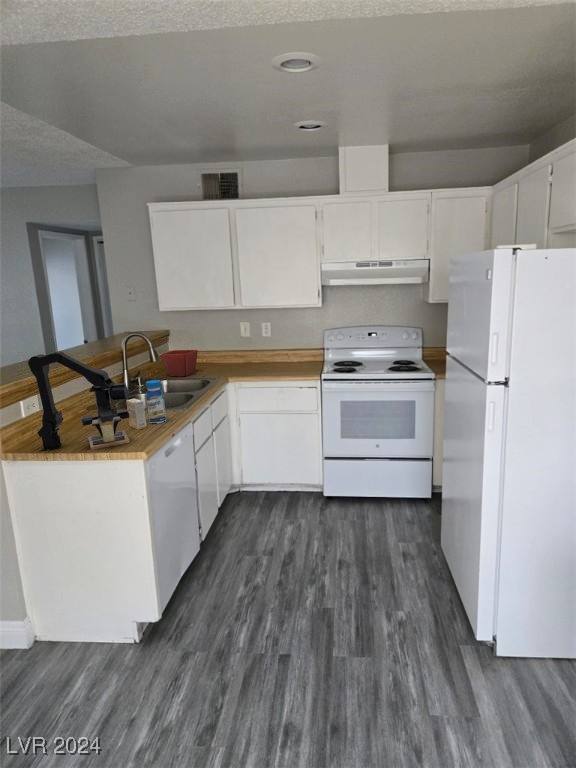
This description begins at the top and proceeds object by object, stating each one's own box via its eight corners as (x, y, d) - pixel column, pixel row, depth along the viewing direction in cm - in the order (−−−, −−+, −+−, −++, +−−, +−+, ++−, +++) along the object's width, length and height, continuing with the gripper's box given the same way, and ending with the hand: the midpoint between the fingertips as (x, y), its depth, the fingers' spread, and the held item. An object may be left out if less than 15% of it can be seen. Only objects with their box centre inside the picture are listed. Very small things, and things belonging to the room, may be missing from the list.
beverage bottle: (170, 419, 246) (165, 379, 242) (161, 424, 238) (156, 383, 234) (154, 418, 249) (149, 379, 244) (145, 423, 241) (140, 383, 237)
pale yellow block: (104, 442, 212) (101, 428, 210) (103, 439, 216) (101, 426, 214) (114, 440, 213) (112, 426, 212) (113, 437, 217) (111, 424, 216)
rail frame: (91, 449, 208) (90, 447, 208) (88, 439, 223) (88, 436, 222) (129, 442, 214) (129, 439, 214) (124, 432, 229) (124, 430, 228)
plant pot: (177, 372, 371) (174, 350, 368) (200, 372, 365) (198, 349, 362) (163, 378, 354) (160, 354, 350) (187, 378, 348) (184, 354, 344)
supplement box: (129, 427, 237) (125, 400, 235) (138, 424, 241) (134, 398, 238) (137, 430, 232) (134, 402, 229) (147, 427, 235) (143, 400, 232)
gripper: (80, 408, 200) (86, 446, 203) (128, 401, 207) (133, 437, 211) (79, 403, 210) (84, 438, 213) (125, 396, 217) (130, 430, 221)
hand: (108, 436), depth 214 cm, fingers closed on pale yellow block, 4 cm apart
